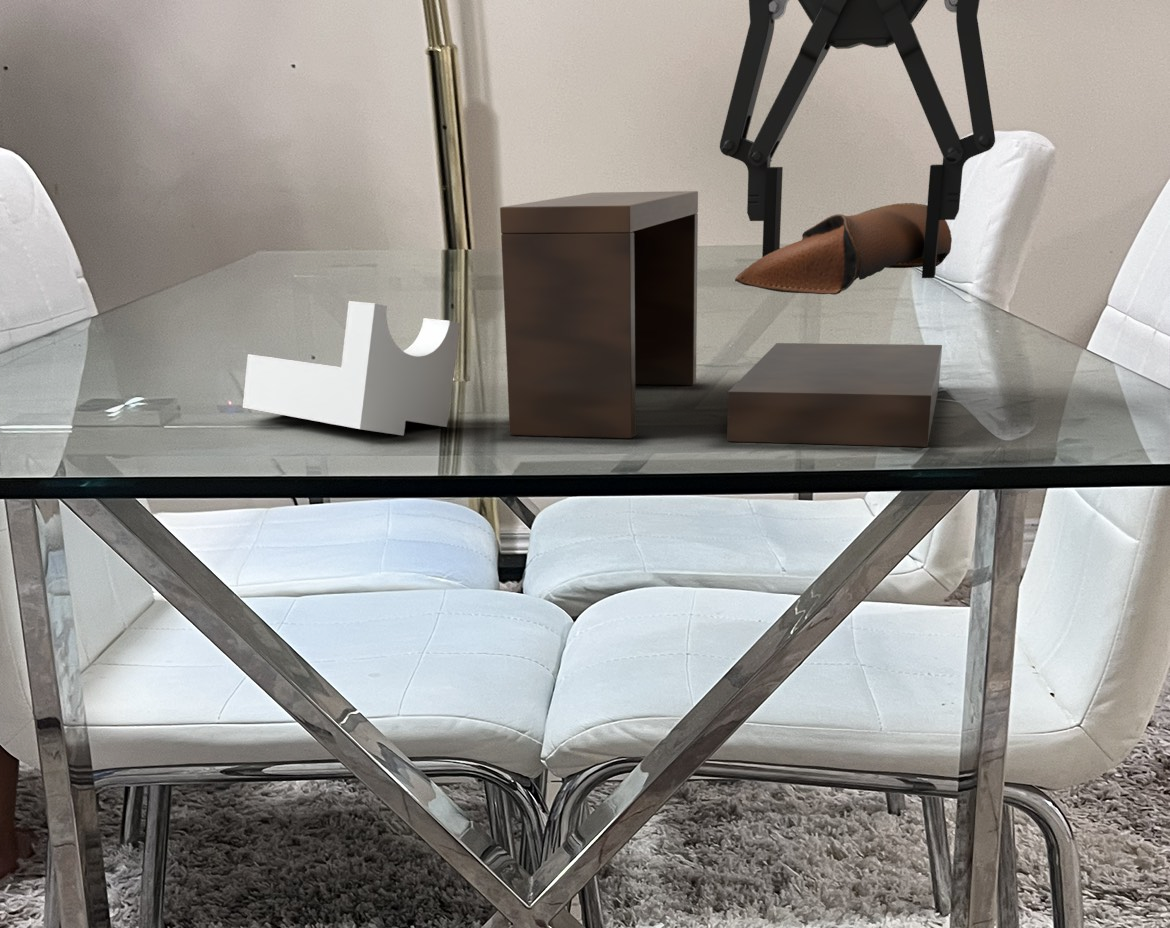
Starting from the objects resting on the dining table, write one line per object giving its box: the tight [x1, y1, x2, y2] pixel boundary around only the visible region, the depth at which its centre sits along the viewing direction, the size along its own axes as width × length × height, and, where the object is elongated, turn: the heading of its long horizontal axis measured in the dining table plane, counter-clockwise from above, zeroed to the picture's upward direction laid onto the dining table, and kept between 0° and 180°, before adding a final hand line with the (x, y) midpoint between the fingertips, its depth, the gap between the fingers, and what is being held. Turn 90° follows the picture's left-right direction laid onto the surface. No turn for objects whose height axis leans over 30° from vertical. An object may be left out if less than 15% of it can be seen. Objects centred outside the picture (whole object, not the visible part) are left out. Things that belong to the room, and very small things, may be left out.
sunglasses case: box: [734, 202, 953, 296], centre depth 90 cm, size 18×7×7 cm, turn 150°
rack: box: [499, 190, 943, 448], centre depth 93 cm, size 26×22×14 cm
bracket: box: [242, 300, 462, 436], centre depth 93 cm, size 13×7×8 cm, turn 46°
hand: (848, 275), depth 91 cm, fingers closed on sunglasses case, 9 cm apart
